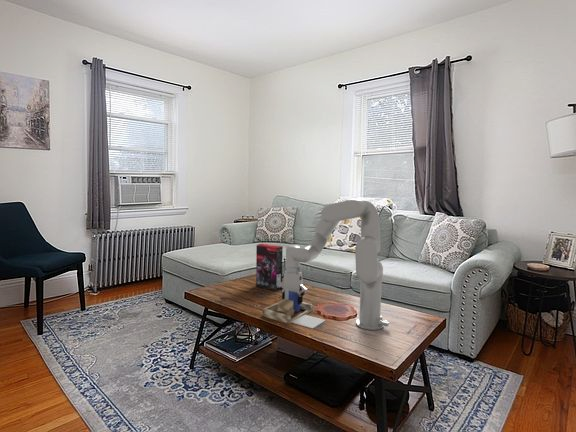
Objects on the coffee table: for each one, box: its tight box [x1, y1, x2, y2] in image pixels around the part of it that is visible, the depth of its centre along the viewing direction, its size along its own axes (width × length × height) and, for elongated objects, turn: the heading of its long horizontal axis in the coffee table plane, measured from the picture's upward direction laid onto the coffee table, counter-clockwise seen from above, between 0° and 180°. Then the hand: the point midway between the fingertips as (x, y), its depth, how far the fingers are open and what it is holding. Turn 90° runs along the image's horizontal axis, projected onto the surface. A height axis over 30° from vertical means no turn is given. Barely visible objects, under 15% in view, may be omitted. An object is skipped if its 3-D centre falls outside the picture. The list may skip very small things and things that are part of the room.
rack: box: [262, 301, 313, 324], centre depth 177 cm, size 16×21×4 cm
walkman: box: [285, 289, 301, 313], centre depth 181 cm, size 8×3×12 cm, turn 86°
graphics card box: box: [255, 243, 284, 291], centre depth 221 cm, size 17×7×27 cm, turn 54°
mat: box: [290, 314, 326, 330], centre depth 167 cm, size 12×12×1 cm
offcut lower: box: [276, 309, 295, 318], centre depth 172 cm, size 6×6×4 cm
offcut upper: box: [277, 299, 293, 313], centre depth 172 cm, size 6×6×4 cm
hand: (292, 301), depth 181 cm, fingers open, 9 cm apart
